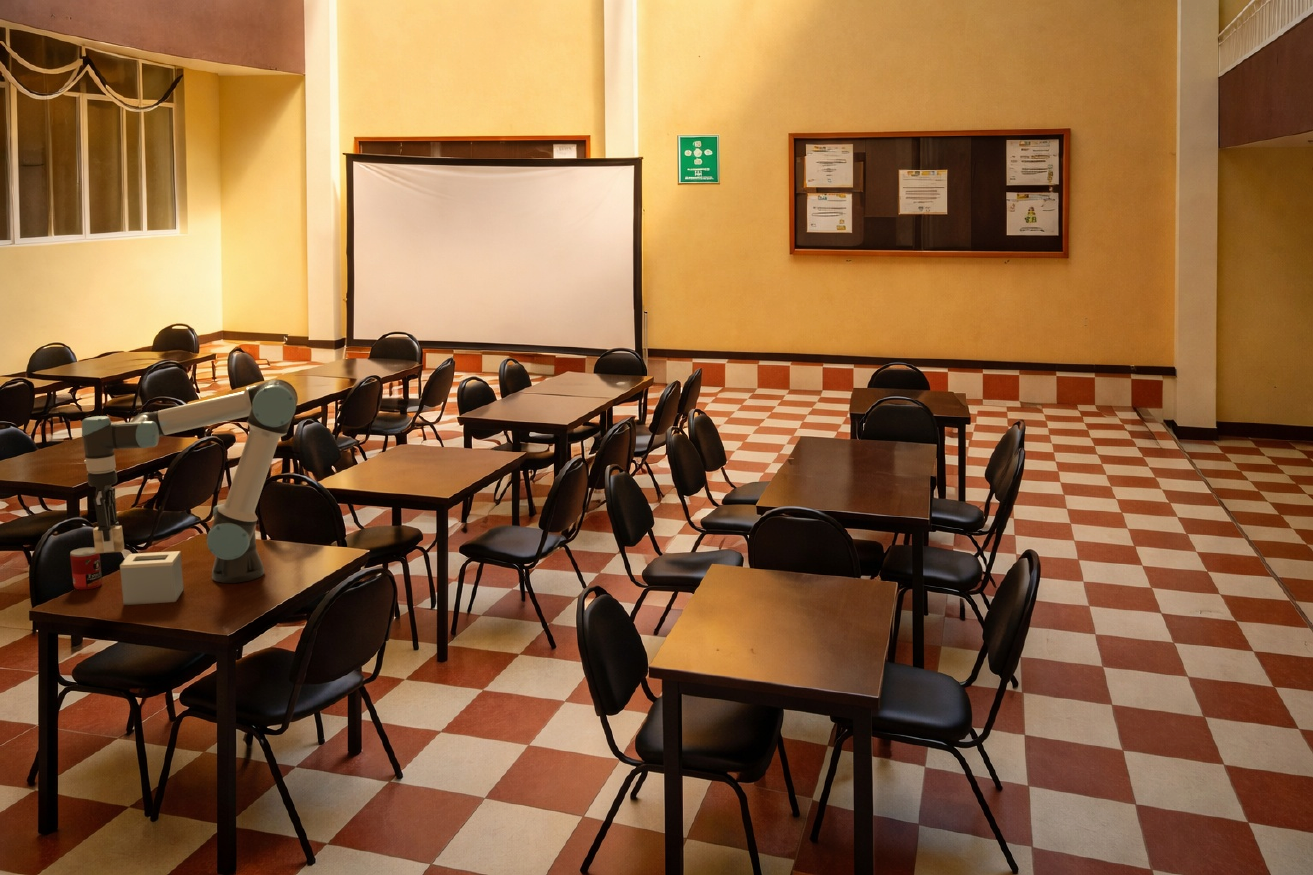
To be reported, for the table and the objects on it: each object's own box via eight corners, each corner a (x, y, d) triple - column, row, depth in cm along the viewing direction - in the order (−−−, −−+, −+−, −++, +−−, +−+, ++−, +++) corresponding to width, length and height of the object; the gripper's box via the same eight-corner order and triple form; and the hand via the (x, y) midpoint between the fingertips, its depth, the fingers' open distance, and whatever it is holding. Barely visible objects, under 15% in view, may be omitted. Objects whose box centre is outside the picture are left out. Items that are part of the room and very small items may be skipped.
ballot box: (183, 589, 327) (180, 551, 325) (175, 601, 317) (172, 562, 315) (133, 592, 325) (129, 553, 322) (123, 604, 314) (119, 565, 312)
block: (124, 548, 319) (121, 525, 317) (121, 551, 316) (119, 528, 314) (98, 550, 317) (95, 527, 316) (95, 553, 314) (92, 529, 313)
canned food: (90, 590, 326) (87, 555, 324) (67, 588, 328) (63, 553, 326) (108, 582, 334) (104, 548, 331) (85, 580, 335) (81, 546, 333)
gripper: (95, 465, 319) (105, 542, 323) (78, 477, 303) (88, 558, 308) (123, 463, 320) (132, 540, 325) (107, 476, 305) (117, 556, 310)
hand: (111, 549), depth 316 cm, fingers closed on block, 3 cm apart
